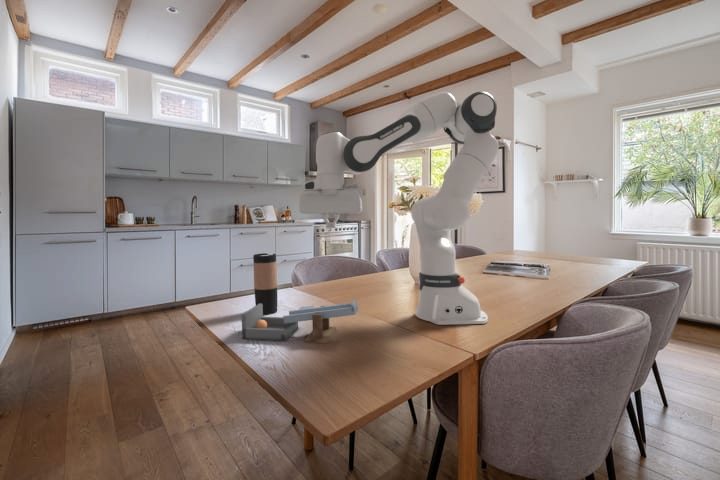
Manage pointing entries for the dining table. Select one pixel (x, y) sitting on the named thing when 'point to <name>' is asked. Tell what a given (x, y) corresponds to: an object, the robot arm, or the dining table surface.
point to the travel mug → (265, 282)
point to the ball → (261, 324)
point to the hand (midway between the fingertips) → (331, 227)
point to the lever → (321, 312)
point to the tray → (274, 326)
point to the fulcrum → (320, 330)
